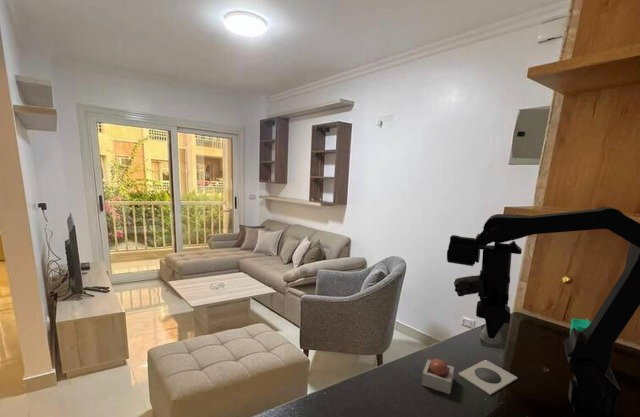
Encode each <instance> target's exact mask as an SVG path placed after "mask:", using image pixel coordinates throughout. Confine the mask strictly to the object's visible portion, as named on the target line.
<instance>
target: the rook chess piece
mask: <svg viewBox="0 0 640 417" xmlns="http://www.w3.org/2000/svg"><path fill="white" fill-rule="evenodd" d="M479 337H480V338H481V340H482V341H483V342H485V343H487V344H490V345H499V344H500V343H502V334H501V332H500V330H499V332H498V333H497V335H496V336H495V337H494V339H492V338H489V337H488V333H487V327H486V322H485V323H484V326H483V327H482V329H481V331H480V335H479Z"/></svg>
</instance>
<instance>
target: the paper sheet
mask: <svg viewBox="0 0 640 417" xmlns="http://www.w3.org/2000/svg"><path fill="white" fill-rule="evenodd" d="M457 375H458V376H460V377H461V378H462V379H465V381H468V382H469V383H471V385H473V386H475V387H476V388H478V389H480V390H481V391H483V392H484V393H486V394H488V395H489V396H491V395H493V394H494V393H496V392H498V391H500V390H501V389H504V388H505V387H506V386H508V385H510V384H511V383H513V382H515V381H516V380H518V377H517V376H516V375H514V374H512V373H510V372H509V371H507V370H505V369H503V368H501V367H500V366H497V365H496V364H494V363H493V362H490V361H489V360H486V359H484V360H481V361H480V362H477V363H476V364H474V365H472V366H470V367H468V368H466V369H464V370H462V371H459V372H458V373H457Z"/></svg>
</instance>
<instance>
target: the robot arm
mask: <svg viewBox="0 0 640 417" xmlns="http://www.w3.org/2000/svg"><path fill="white" fill-rule="evenodd" d="M482 228H483V230H482V231H481V232H480V233H477V235H476V237H469V236H468V237H466V236H460V235H455V234H452V235H451V236H449V243H448V247H447V251H446V260H447V263H450V264H456V265H463V266H469V267H474V265H475V264H476V263H480V260H481V259H480V258H481V257H482V261H481V269H480V270H479V271H480V272H479V274H477V275H469V276H464V277H463V276H462V277H458V278H455V279H454V282H453V285H454V292H456V294H457V296H458V297H464V296H467V295H474V294H475V295H476V294H477V297H479V299H480V300H479V301H477V303H476V308H475V316H476V317H478V318H481V319H484V321H485V323H486V327H487V333H488V337H489V338H492V339H494V337H495V336H496V335H497V333H498V332H499V331H500V330H502V329H501V328H502V327H503V326H504V325H505V324H509V323H511V307H510V306H509V299H510V295H509V294H510V292H509V291H510V284H511V267H512V265H511V264H512V254H515V255H521V254H522V252H523V251H522V250H523V249H522V247H520V246H519V245H518V244H517V242H516V241H517V240H519V239H522V238H526V237H529V236H533V235H541V234H542V235H544V234H554V233H564V232H565V233H570V232H579V231H580V232H581V231H593V230H609V231H610V232H611V233H613V234H615V235H617V236H619V237H621V238H622V239H624V240H625V241H627V242H629V243H630V244H629V246H628V249H627V254H626V258H625V265H624V268H623V271H622V272H621V274H620V275H619V278H618V279H617V281H616V282H615V284H614V286H613V287H612V289H611V290H610V292H608V293H609V294H608V295H607V296H606V298H605V300H604V301H603V302H602V304H601V306H600V308H599V309H598V310H597V312H596V313H595V316H594V317H593V319H592V320H591V323H590V325H589V326H588V327H587V328H586V329H584V330H582V331H578V330H576V329H575V328H572V330H571V333H570V332H569V336H568V337H567V338H566V339H564V340H563V345H564V348H565V355H566V359H567V363H568V367H569V369H570V371H571V372H572V374H573V379H569V386H568V394H567V397H568V400H569V405H570V406H572V408H573V411H574V414H575V415H578V416H581V417H616V411H617V403H618V402H617V401H618V397H619V396H620V394H621V393H622V391H621V388H620V387H619V384H618V382H617V379H616V378H615V375H614V373H613V370H612V368H611V367H610V365H611V362H612V356H613V349H614V345H615V343H616V341H617V340H618V338H619V337H620V336H621V334H622V333H623V331H624V330H625V329H626V327H627V325H628V324H629V322H630V321H631V319H632V318H633V316H634V314H636V312H637V310H638V309H639V307H640V222H638V221H637V220H635V219H633V218H631V217H629V216H627V215H625V214H624V213H623V211H620V210H619V209H616V208H615V207H610V206H601V207H599V208H593V209H584V210H583V209H581V210H573V211H566V212H554V213H553V212H552V213H545V214H537V215H521V214H508V213H503V214H502V213H497V214H493V215H491V216H490V217H489V218H488V219H487V220H486V221H485V223H484V225H483V227H482ZM515 240H516V241H515ZM505 242H510V243H505ZM491 243H494V245H492V244H491ZM490 244H491V245H490ZM481 251H482V256H481ZM499 333H500V332H499Z"/></svg>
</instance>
